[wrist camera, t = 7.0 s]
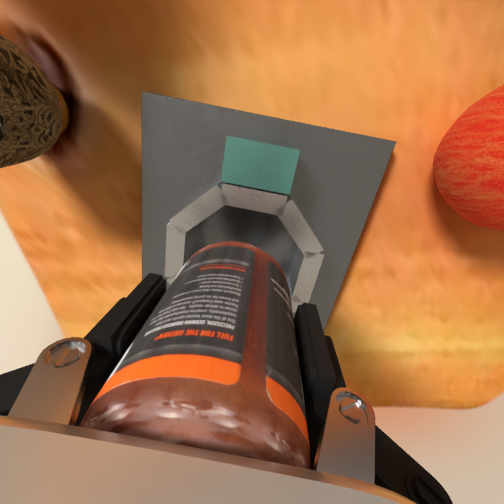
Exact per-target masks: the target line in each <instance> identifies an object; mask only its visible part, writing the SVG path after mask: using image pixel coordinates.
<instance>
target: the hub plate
mask: <svg viewBox="0 0 504 504" xmlns="http://www.w3.org/2000/svg"><path fill="white" fill-rule="evenodd" d="M395 144H396V142H395V141H390V140H385V139H380V138H375V137H370V136H365V135H360V134H355V133H350V132H345V131H340V130H335V129H330V128H325V127H320V126H315V125H310V124H305V123H300V122H295V121H289V120H284V119H279V118H274V117H269V116H264V115H259V114H254V113H249V112H244V111H239V110H234V109H229V108H224V107H219V106H214V105H209V104H204V103H199V102H194V101H189V100H183V99H178V98H173V97H168V96H163V95H158V94H153V93H148V92H143V91H142V280H143V279H144V278H145V277H146V276H147V275H148V274H149V273H154V274H159V275H162V276H163V279H166V282H167V283H166V291H167V290H168V288H169V286H170V285H171V284H172V282H173V281H174V279H175V278H176V276H177V275H178V273H179V272H180V270H181V268H182V267H183V266H184V265H185V263H186V262H187V261H188V260H189V259H190V258H191V257H192V256H193V255H194V254H195V253H196V252H197V251H199V250H200V249H202V248H204V247H206V246H208V245H211V244H214V243H219V242H228V241H234V242H242V243H248V244H251V245H253V246H255V247H258V248H260V249H261V250H263V251H265V252H266V253H268V254H269V255H270V256H272V257H273V258H274V259H275V260H276V261H277V263H278V264H279V265H280V266H281V268H282V269H283V271H284V274H285V275H286V279H287V282H288V286H289V290H290V297H291V303H292V311H293V319H294V316H295V313H296V310H297V307H298V305H302V304H303V302H305V303H311V304H315V305H316V306H317V310H318V313H319V317H320V321H321V324H322V328H323V332H324V329H325V327H326V324H327V321H328V319H329V316H330V314H331V311H332V308H333V306H334V303H335V300H336V298H337V295H338V293H339V290H340V287H341V285H342V282H343V280H344V277H345V274H346V272H347V269H348V266H349V264H350V261H351V259H352V256H353V253H354V251H355V248H356V246H357V243H358V240H359V238H360V235H361V232H362V230H363V227H364V225H365V222H366V219H367V217H368V214H369V212H370V209H371V206H372V204H373V201H374V199H375V196H376V193H377V191H378V188H379V185H380V183H381V180H382V178H383V175H384V172H385V170H386V167H387V165H388V162H389V159H390V157H391V154H392V151H393V149H394V146H395Z"/></svg>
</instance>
